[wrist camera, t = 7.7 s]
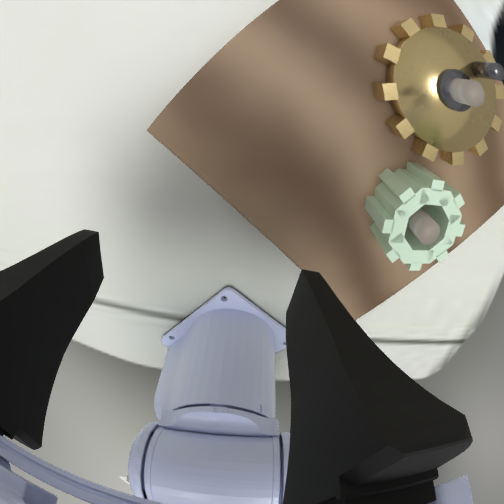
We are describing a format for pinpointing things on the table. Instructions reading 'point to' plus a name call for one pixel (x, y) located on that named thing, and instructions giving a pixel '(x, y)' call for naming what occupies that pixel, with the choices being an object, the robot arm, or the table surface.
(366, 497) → the robot arm
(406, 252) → the pale green gear
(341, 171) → the gear board
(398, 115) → the brass gear
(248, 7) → the table surface
